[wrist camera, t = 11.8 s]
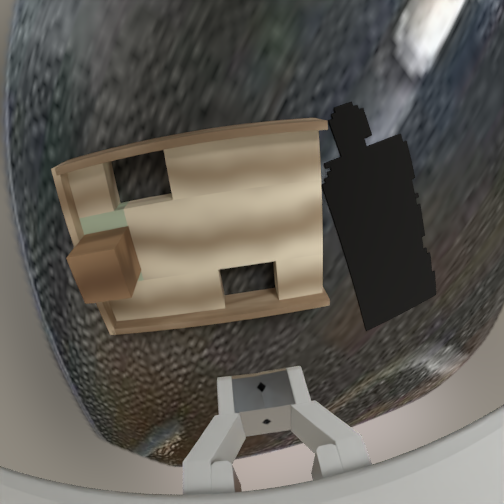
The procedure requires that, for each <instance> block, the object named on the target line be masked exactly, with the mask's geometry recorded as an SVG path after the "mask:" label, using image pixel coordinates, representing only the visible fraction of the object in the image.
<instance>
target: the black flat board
mask: <svg viewBox="0 0 504 504" xmlns="http://www.w3.org/2000/svg"><path fill="white" fill-rule="evenodd" d="M334 110H335V113H333V114H331V115H332V118H333V119H331V120H328V121H329V124H330V126H331V129H332V132H333V134H334V137H335V140H336V143H337V146H338V149H339V151H340V154H341V157H339V158H336V159H334V160H331V161H329V162H327V163H324V165H325V168H328V167H330V168H331V171H329V172H327V173H328V176H329V177H327V178H324V179H325V182H326V183H324V184H322V187H323V190H324V193H325V196H326V199H327V202H328V204H329V207H330V210H331V213H332V216H333V219H334V222H335V225H336V228H337V231H338V234H339V237H340V241H341V244H342V247H343V250H344V253H345V257H346V260H347V263H348V266H349V270H350V273H351V277H352V280H353V284H354V287H355V291H356V294H357V298H358V301H359V305H360V309H361V312H362V316H363V320H364V324H365V328H366V331H367V330H369V329H372V328H374V327H376V326H378V325H380V324H382V323H384V322H386V321H388V320H390V319H392V318H394V317H396V316H398V315H400V314H401V313H403V312H405V311H407V310H409V309H411V308H413V307H415V306H417V305H418V304H420V303H422V302H424V301H426V300H428V299H429V298H431V297H433V296H435V295H436V282H435V271H433V272H432V267H431V256H430V252H429V253H427V248H424V249H423V241H422V237H423V236H425V232H424V225H423V219H422V212H421V206H420V204H418V205H417V203H416V198H418V197H419V195H418V193H416V194H415V193H414V188H413V183H412V179H414V178H415V175H414V170H413V166H412V161H411V157H410V153H409V149H408V145H407V141H404V142H403V140H402V136H401V134H398V135H395V136H393V137H390V138H387V139H385V140H382V141H379V142H377V143H374V144H372V145H369V146H366V143H365V140H364V138H366V137H368V136H371V135H372V134H371V130H370V127H369V124H368V121H367V118H366V115H365V112H364V109H363V108H361V109H359V108H358V105H355V106H353V104H352V102H349V103H346V104H343V105H340V106H338V107H335V108H334Z"/></svg>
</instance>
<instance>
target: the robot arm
mask: <svg viewBox="0 0 504 504" xmlns="http://www.w3.org/2000/svg"><path fill="white" fill-rule="evenodd" d="M217 393H218V411H219V415H215V416H214V417H213V419H212V420H211V422H210V423H209V425H208V426H207V428H206V429H205V431H204V432H203V434H202V435H201V437H200V438H199V440H198V441H197V442H196V444H195V445H194V447H193V448H192V450H191V451H190V453H189V454H188V455H187V457H186V458H185V460H184V461H183V495H162V494H141V493H128V492H118V491H109V490H101V489H93V488H87V487H81V486H76V485H70V484H65V483H60V482H56V481H51V480H47V479H42V478H39V477H35V476H31V475H27V474H24V473H20V472H17V471H13V470H11V469H8V468H4V467H1V466H0V504H504V405H502V406H501V407H499V408H497V409H496V410H494V411H492V412H490V413H489V414H487V415H485V416H483V417H482V418H480V419H478V420H477V421H474V422H473V423H471V424H469V425H467V426H465V427H463V428H461V429H459V430H457V431H455V432H453V433H451V434H449V435H447V436H444V437H442V438H440V439H438V440H436V441H433V442H431V443H429V444H427V445H424V446H422V447H419V448H417V449H415V450H412V451H409V452H407V453H404V454H402V455H399V456H396V457H393V458H391V459H388V460H385V461H382V462H379V463H376V464H373V465H372V463H371V460H370V458H369V455H368V452H367V449H366V446H365V443H364V441H363V438H362V435H361V434H359V433H358V432H357V431H355V430H354V429H353V428H351V427H350V426H348V425H347V424H346V423H344V422H343V421H342V420H340V419H339V418H338V417H336V416H335V415H334V414H332V413H331V412H330V411H328V410H327V409H326V408H324V407H323V406H322V405H320V404H319V403H318V402H317V401H311V399H310V395H309V392H308V389H307V385H306V382H305V378H304V375H303V372H302V368H301V367H300V366H295V367H289V368H282V369H276V370H270V371H264V372H259V373H254V374H246V375H236V376H226V377H218V378H217ZM286 430H291V431H292V432H293V433H294V434H295V435H296V436H297V437H298V438H299V439H300V440H301V441H302V442H303V443H304V444H305V445H306V446H307V447H308V448H309V449H310V450H312V451H313V452H314V453H315V458H314V463H313V468H312V473H311V474H312V478H313V481H308V482H304V483H298V484H293V485H288V486H281V487H275V488H268V489H261V490H253V491H244V492H242V491H241V484H240V482H239V479H238V477H237V475H236V472H235V470H234V468H233V465H232V463H233V461H234V460H235V458H236V456H237V454H238V452H239V450H240V448H241V446H242V444H243V442H244V440H245V437H246V436H253V435H259V434H265V433H272V432H279V431H286Z"/></svg>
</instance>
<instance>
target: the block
mask: <svg viewBox="0 0 504 504" xmlns="http://www.w3.org/2000/svg"><path fill="white" fill-rule="evenodd" d="M67 261H68V263H69V266H70V269H71V271H72V274H73V276H74V278H75V281H76V283H77V286H78V288H79V290H80V293H81V295H82V297H83V299H84V302H85V304H88V303H96V302H104V301H112V300H120V299H128V298H132V295H133V292H134V290H135V287H136V284H137V281H138V278H139V276H140V273H141V267H140V264H139V261H138V257H137V254H136V251H135V247H134V244H133V241H132V237H131V234H130V230H129V226H126V227H121V228H115V229H110V230H105V231H100V232H95V233H90V234H86V235H84V236H83V238H82V239H81V240H80V241H79V243H78V244H77V245H76V246H75V248H74V249H73V250H72V251H71V253H70V254H69V255H68V256H67Z"/></svg>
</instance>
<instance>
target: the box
mask: <svg viewBox="0 0 504 504" xmlns="http://www.w3.org/2000/svg"><path fill="white" fill-rule="evenodd" d="M318 130H328V124H327V121H326V120H321V119H317V118H302V119H288V120H276V121H266V122H256V123H247V124H239V125H231V126H224V127H217V128H210V129H203V130H197V131H191V132H185V133H180V134H174V135H169V136H164V137H159V138H154V139H149V140H144V141H140V142H135V143H131V144H127V145H122V146H118V147H114V148H110V149H106V150H102V151H98V152H95V153H91V154H87V155H84V156H80V157H77V158H73V159H70V160H67V161H65V162H63V163H61V164H60V165H58V166H56V167H54V168H52V169H51V170H52V174H53V178H54V182H55V186H56V189H57V193H58V197H59V200H60V204H61V207H62V211H63V214H64V217H65V220H66V224H67V227H68V230H69V233H70V236H71V239H72V242H73V245H74V248H75V246H76V245H77V244H78V243H79V241H80V240H81V239H82V238H83V236H84V235H86V234H90V233H95V232H100V231H105V230H110V229H115V228H121V227H126V226H129V230H130V234H131V237H132V241H133V244H134V247H135V251H136V254H137V257H138V261H139V264H140V267H141V273H140V276H139V278H138V281H137V284H136V287H135V290H134V292H133V295H132V298H128V299H120V300H112V301H104V302H96V304H97V307H98V309H99V311H100V313H101V316H102V318H103V320H104V322H105V324H106V327H107V329H108V331H109V333H110V335H118V334H129V333H140V332H150V331H160V330H169V329H178V328H187V327H195V326H203V325H211V324H218V323H225V322H233V321H239V320H246V319H253V318H259V317H266V316H272V315H278V314H284V313H290V312H296V311H301V310H307V309H313V308H318V307H323V306H329V304H330V299H329V297H328V295H327V294H326V292H325V290H324V288H323V286H322V283H323V232H322V190H321V166H320V147H319V131H318ZM160 150H164V155H165V161H166V166H167V172H168V177H169V182H170V187H171V192H172V193H170V194H164V195H159V196H153V197H148V198H143V199H137V200H132V201H127V202H122V203H121V202H120V198H119V193H118V189H117V185H116V181H115V176H114V172H113V167H112V163H111V161H114V160H118V159H122V158H127V157H131V156H136V155H140V154H145V153H150V152H155V151H160ZM266 262H273V266H274V278H275V288H270V289H264V290H257V291H250V292H244V293H237V294H230V295H224V290H223V284H222V279H221V274H220V269H226V268H233V267H239V266H246V265H253V264H260V263H266Z"/></svg>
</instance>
